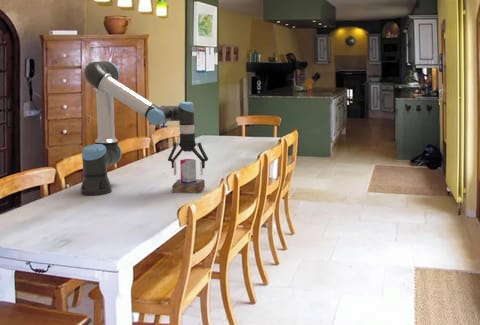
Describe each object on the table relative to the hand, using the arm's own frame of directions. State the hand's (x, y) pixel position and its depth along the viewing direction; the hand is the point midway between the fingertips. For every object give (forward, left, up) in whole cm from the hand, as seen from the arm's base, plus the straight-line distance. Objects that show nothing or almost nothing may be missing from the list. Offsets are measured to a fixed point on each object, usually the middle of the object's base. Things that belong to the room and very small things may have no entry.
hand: (188, 174), depth 292 cm
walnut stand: (0, 0, -8) cm, 8 cm away
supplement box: (0, 0, -4) cm, 4 cm away
